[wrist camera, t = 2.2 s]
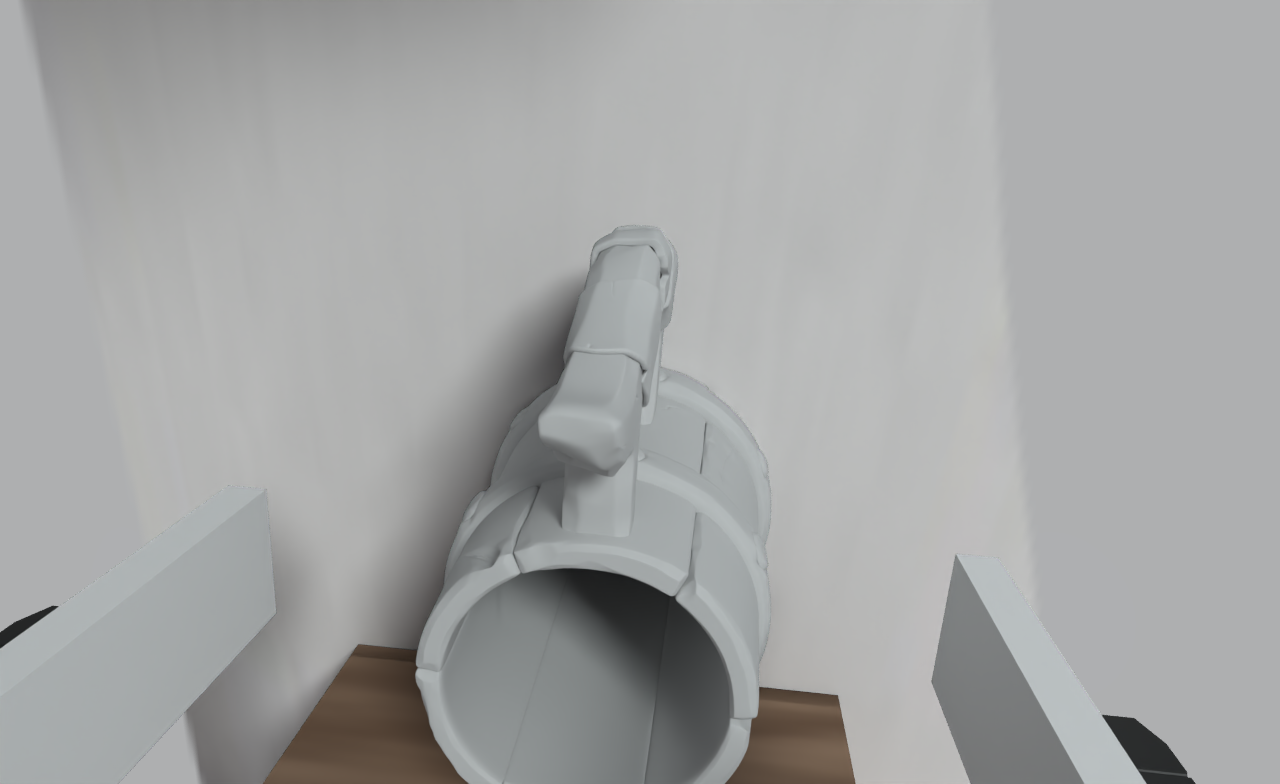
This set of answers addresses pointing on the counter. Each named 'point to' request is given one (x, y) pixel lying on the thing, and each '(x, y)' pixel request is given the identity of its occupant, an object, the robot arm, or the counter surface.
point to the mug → (608, 564)
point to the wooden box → (426, 780)
